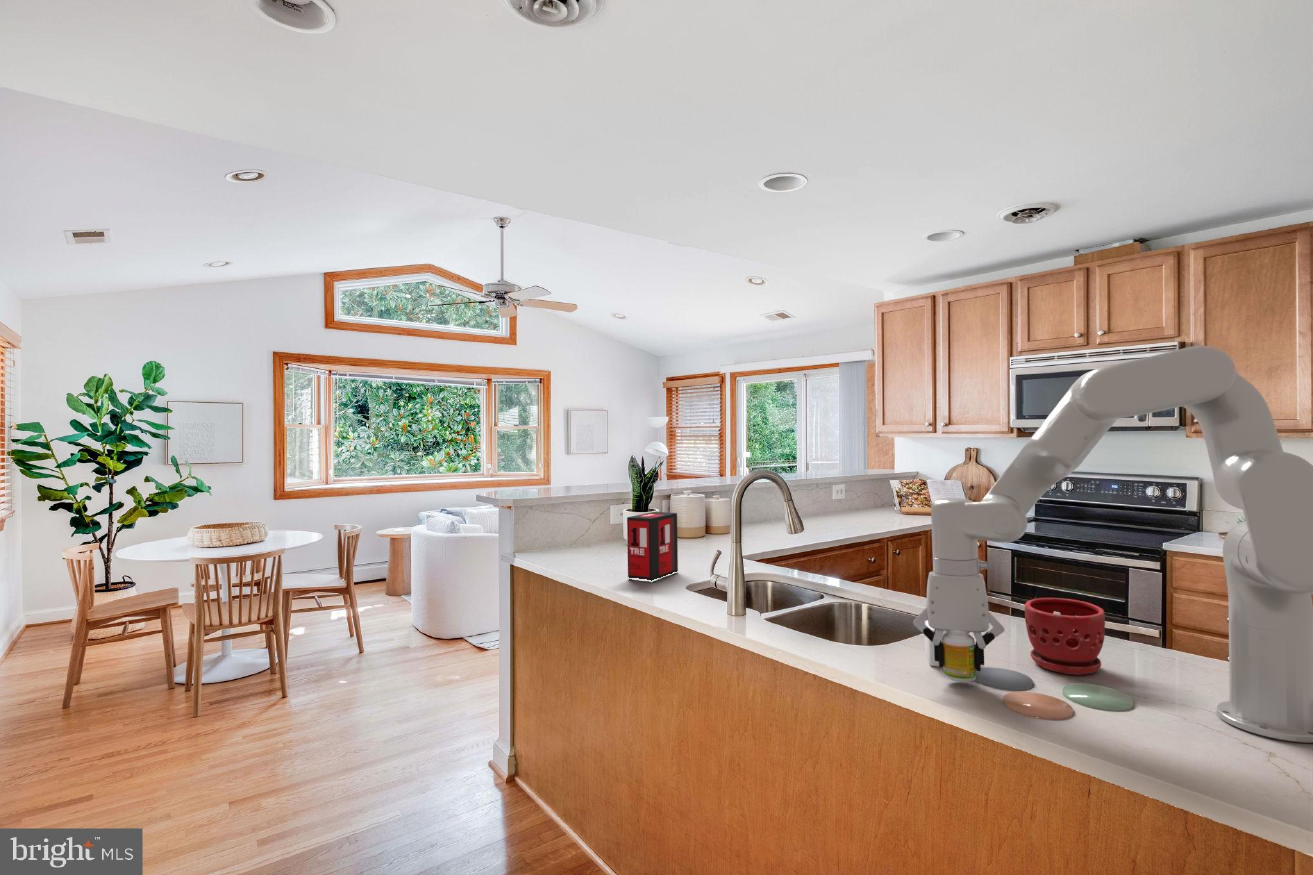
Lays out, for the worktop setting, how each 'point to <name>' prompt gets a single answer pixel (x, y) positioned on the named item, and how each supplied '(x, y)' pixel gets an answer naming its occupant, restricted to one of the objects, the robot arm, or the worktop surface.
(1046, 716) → the peach coaster
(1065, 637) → the plant pot
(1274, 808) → the worktop surface
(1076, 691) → the sage green coaster
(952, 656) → the supplement bottle
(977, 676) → the slate grey coaster
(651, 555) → the cleaning product box
